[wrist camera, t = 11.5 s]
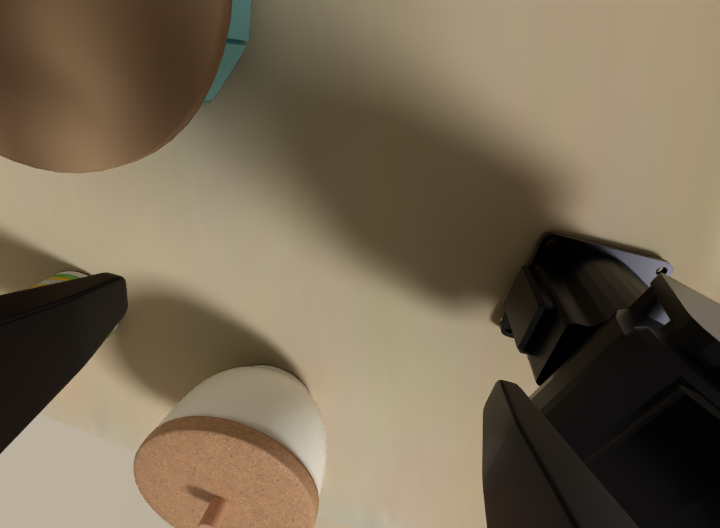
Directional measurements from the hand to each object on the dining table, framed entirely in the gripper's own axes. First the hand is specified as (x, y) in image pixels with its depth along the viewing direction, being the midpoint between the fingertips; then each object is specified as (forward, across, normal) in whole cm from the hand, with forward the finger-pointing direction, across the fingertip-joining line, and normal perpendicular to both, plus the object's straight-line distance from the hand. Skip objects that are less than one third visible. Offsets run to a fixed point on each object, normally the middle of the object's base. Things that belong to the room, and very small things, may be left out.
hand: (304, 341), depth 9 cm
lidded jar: (+13, +4, +17) cm, 22 cm away
